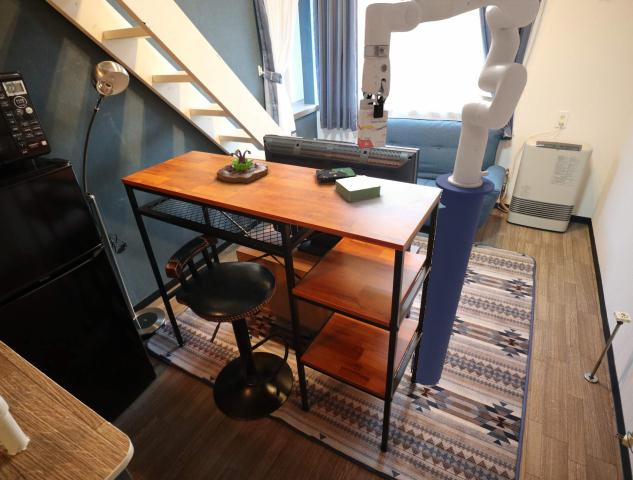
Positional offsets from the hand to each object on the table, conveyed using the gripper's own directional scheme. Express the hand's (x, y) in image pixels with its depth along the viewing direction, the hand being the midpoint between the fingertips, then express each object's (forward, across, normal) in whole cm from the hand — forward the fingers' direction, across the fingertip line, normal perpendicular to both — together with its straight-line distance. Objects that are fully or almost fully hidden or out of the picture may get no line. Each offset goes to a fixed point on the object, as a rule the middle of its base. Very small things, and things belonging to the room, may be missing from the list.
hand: (373, 115), depth 111 cm
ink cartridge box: (+10, 0, 0) cm, 10 cm away
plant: (+28, +41, +38) cm, 62 cm away
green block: (+27, +3, +3) cm, 28 cm away
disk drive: (+28, +20, +4) cm, 34 cm away
